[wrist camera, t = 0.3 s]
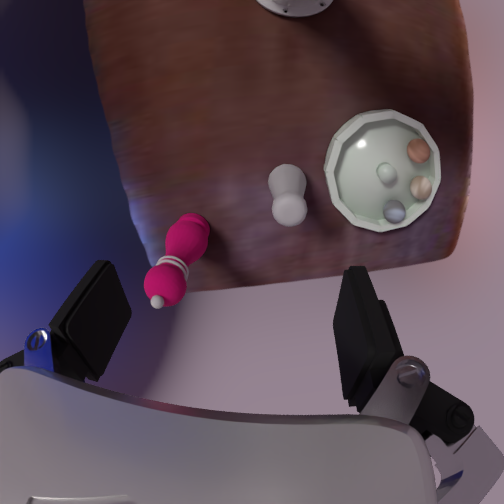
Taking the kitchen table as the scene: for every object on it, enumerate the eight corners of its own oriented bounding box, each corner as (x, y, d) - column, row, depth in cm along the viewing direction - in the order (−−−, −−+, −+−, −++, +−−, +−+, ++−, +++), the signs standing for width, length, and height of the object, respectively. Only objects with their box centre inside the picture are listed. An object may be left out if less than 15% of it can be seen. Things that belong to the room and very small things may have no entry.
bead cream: (411, 170, 37) (432, 183, 34) (418, 171, 39) (437, 183, 37) (403, 192, 39) (422, 205, 37) (410, 191, 41) (429, 203, 39)
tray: (343, 91, 34) (348, 92, 31) (446, 137, 35) (455, 141, 32) (309, 206, 45) (311, 214, 43) (406, 233, 46) (412, 241, 44)
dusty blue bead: (391, 195, 39) (388, 219, 39) (411, 201, 39) (408, 225, 39) (380, 198, 43) (377, 221, 43) (399, 204, 43) (396, 226, 43)
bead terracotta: (400, 145, 37) (412, 129, 33) (419, 154, 37) (431, 139, 33) (404, 162, 35) (417, 147, 32) (423, 171, 36) (437, 157, 32)
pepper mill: (183, 203, 47) (136, 276, 30) (219, 222, 48) (190, 302, 32) (169, 233, 51) (125, 309, 34) (203, 250, 52) (172, 332, 36)
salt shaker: (273, 156, 41) (271, 185, 30) (308, 164, 41) (320, 196, 31) (265, 189, 44) (261, 229, 34) (299, 197, 45) (306, 239, 34)
